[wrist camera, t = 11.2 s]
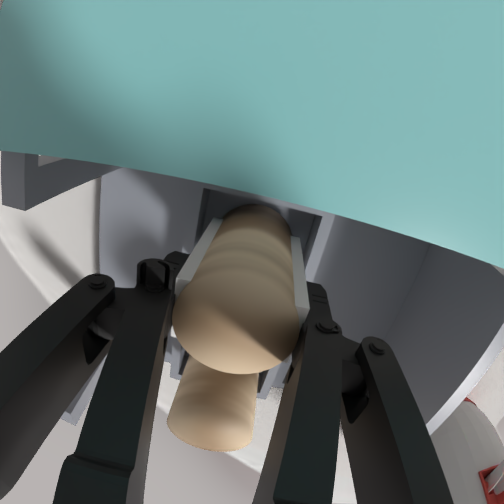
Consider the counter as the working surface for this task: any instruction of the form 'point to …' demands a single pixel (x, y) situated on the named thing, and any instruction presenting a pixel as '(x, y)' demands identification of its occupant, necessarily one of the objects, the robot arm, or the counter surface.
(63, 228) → the counter surface
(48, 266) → the counter surface
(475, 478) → the citrus juicer
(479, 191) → the lid
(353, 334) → the frame
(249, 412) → the tan wooden cylinder
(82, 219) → the counter surface
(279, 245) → the tan rounded cylinder
